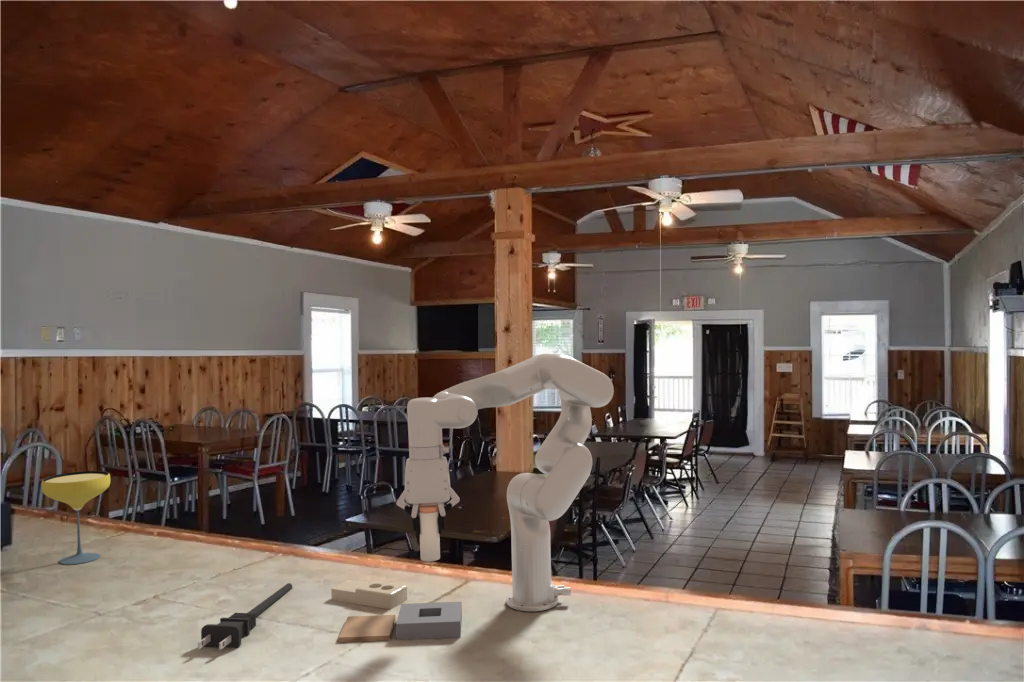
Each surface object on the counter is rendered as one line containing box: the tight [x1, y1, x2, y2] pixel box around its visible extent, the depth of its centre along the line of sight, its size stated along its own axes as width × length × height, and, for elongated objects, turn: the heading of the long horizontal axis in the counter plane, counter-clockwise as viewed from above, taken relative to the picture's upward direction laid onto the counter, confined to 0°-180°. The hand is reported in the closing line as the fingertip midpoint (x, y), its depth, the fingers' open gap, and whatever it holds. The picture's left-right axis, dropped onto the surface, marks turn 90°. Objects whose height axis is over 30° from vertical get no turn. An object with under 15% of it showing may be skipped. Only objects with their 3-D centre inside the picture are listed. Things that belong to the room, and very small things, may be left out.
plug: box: [418, 504, 441, 562], centre depth 178 cm, size 4×4×12 cm
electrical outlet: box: [330, 579, 408, 610], centre depth 197 cm, size 7×4×18 cm
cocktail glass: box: [41, 470, 111, 566], centre depth 236 cm, size 18×18×25 cm
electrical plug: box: [197, 582, 293, 651], centre depth 186 cm, size 9×42×5 cm, turn 173°
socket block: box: [395, 601, 463, 641], centre depth 178 cm, size 14×12×4 cm
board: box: [338, 614, 396, 643], centre depth 178 cm, size 11×12×1 cm
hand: (429, 532), depth 178 cm, fingers closed on plug, 4 cm apart
